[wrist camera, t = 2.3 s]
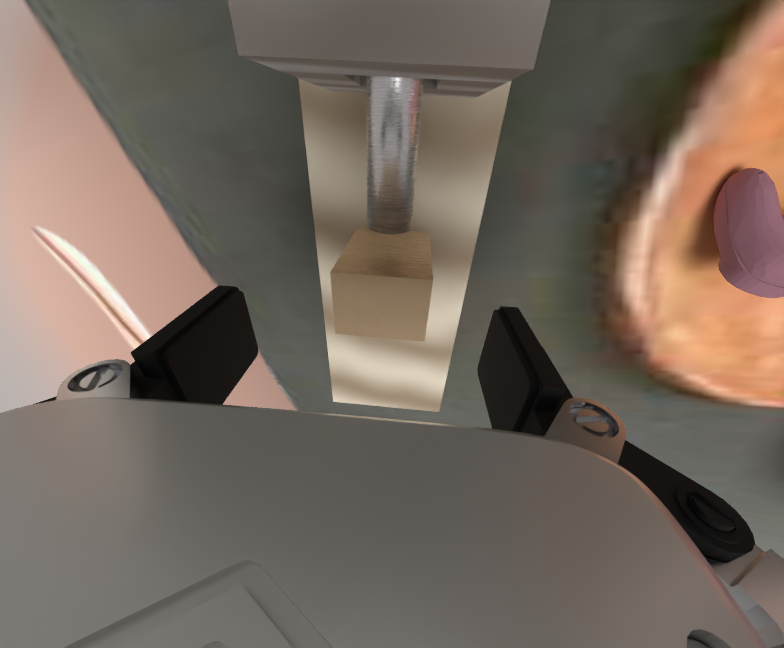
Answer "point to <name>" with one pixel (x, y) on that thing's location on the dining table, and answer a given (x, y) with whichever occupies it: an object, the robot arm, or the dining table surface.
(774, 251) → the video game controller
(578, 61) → the dining table surface
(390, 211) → the peg
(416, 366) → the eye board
